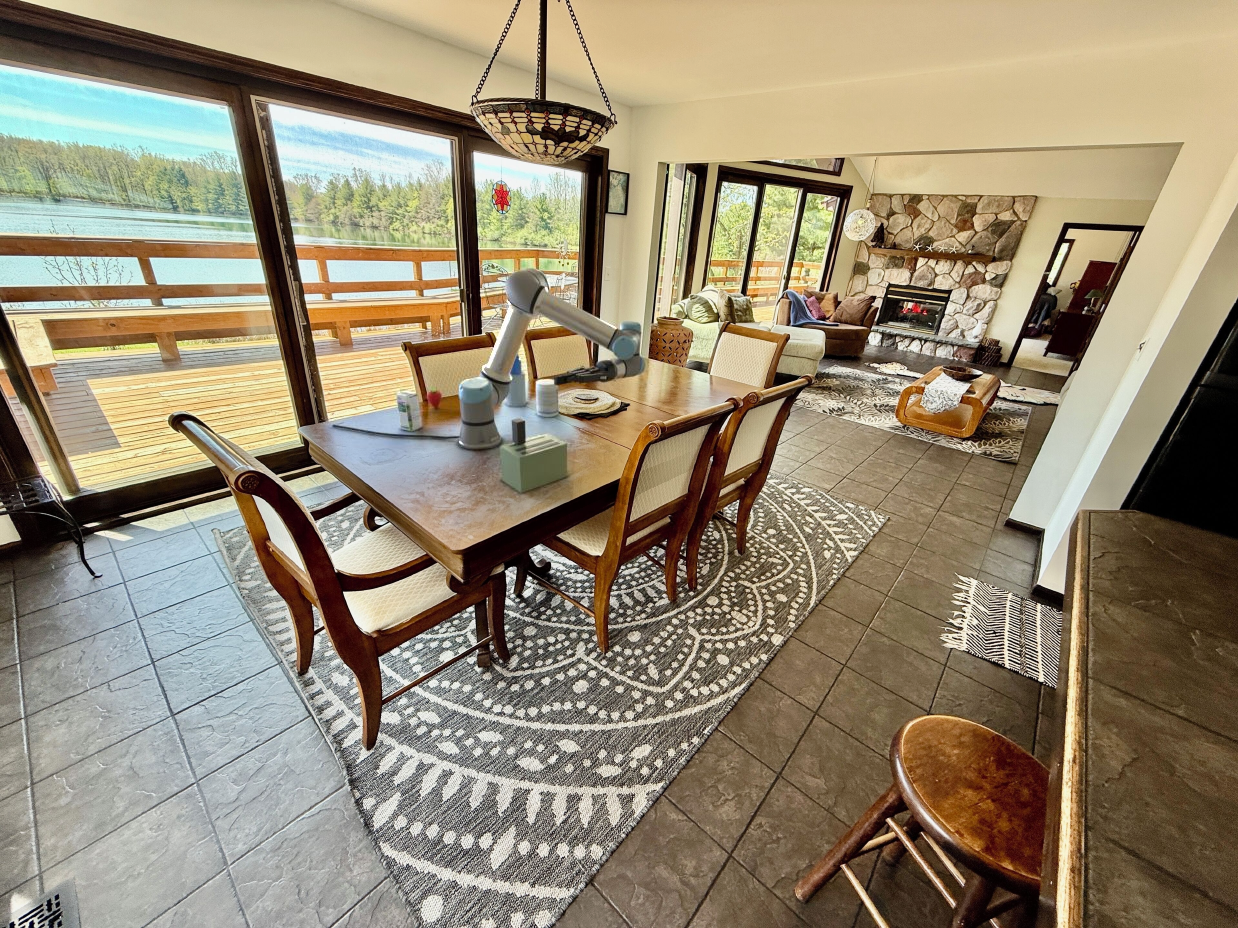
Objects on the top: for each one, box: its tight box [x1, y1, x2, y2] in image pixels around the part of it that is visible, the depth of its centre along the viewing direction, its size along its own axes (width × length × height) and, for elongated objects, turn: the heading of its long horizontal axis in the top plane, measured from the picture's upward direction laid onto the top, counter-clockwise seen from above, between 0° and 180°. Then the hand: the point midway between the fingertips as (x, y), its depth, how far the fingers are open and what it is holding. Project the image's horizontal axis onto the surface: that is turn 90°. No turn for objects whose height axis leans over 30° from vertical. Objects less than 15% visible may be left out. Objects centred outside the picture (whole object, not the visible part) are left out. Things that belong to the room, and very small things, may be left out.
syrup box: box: [395, 390, 423, 432], centre depth 187 cm, size 6×6×14 cm
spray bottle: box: [505, 353, 527, 407], centre depth 218 cm, size 9×9×25 cm
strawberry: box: [426, 387, 443, 409], centre depth 211 cm, size 6×8×10 cm
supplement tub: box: [535, 378, 559, 418], centre depth 209 cm, size 10×10×15 cm
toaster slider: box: [511, 417, 527, 445], centre depth 150 cm, size 3×3×8 cm
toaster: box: [499, 432, 568, 494], centre depth 154 cm, size 18×11×12 cm, turn 134°
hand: (555, 380), depth 153 cm, fingers closed
